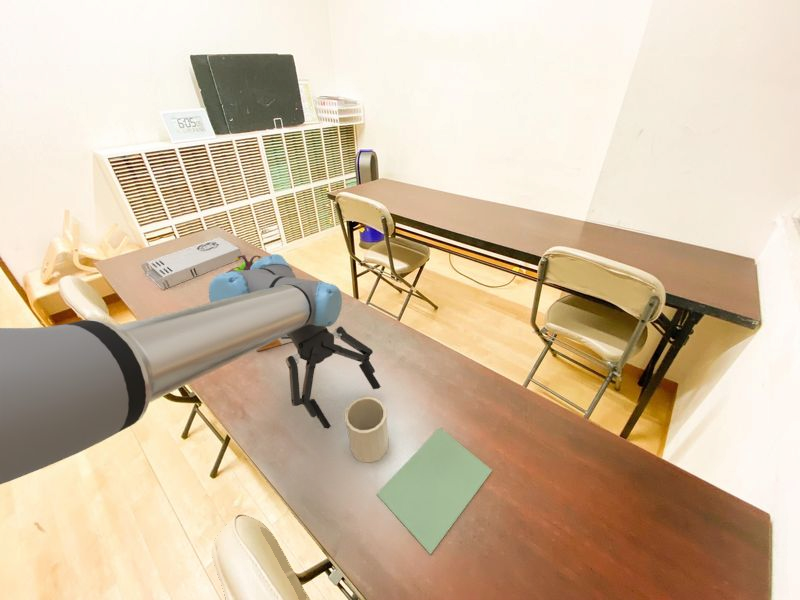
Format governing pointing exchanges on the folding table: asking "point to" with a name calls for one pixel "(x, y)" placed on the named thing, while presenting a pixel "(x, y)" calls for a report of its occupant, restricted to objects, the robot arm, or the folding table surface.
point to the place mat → (434, 488)
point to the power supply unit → (191, 262)
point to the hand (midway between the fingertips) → (353, 406)
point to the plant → (244, 263)
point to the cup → (367, 429)
